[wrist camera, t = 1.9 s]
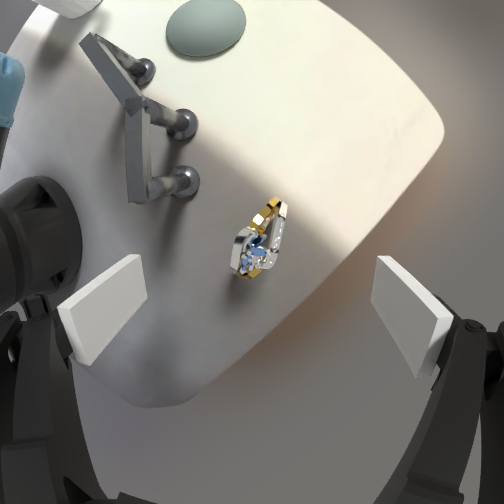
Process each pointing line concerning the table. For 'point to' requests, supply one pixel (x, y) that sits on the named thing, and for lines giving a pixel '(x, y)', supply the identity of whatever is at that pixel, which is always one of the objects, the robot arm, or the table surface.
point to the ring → (259, 241)
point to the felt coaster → (205, 26)
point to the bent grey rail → (142, 122)
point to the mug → (69, 6)
